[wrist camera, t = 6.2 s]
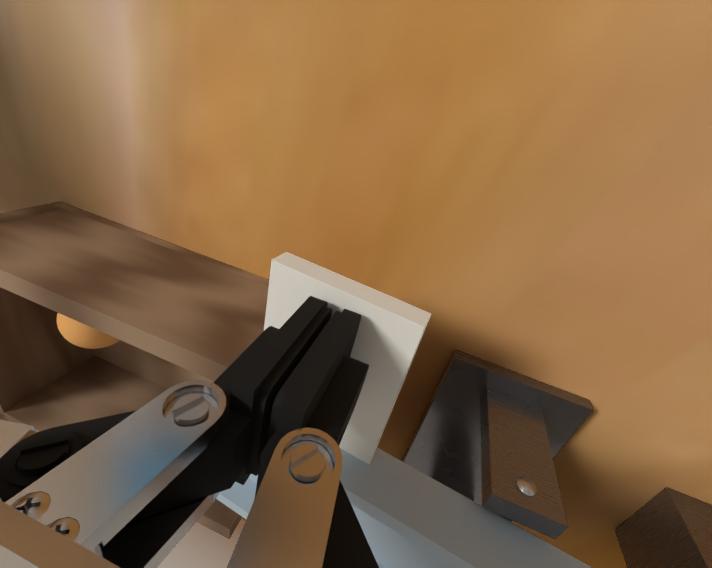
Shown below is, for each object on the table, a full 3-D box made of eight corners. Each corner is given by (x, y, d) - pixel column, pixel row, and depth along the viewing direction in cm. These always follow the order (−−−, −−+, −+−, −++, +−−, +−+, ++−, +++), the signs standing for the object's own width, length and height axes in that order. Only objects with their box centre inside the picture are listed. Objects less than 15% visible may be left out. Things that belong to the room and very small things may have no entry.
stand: (768, 467, 14) (932, 663, 9) (620, 573, 19) (673, 739, 14) (455, 349, 16) (446, 455, 11) (395, 473, 21) (370, 585, 16)
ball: (62, 274, 19) (135, 275, 21) (73, 323, 21) (140, 321, 22) (39, 311, 17) (124, 310, 18) (54, 364, 18) (131, 359, 20)
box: (312, 296, 17) (242, 373, 12) (284, 444, 23) (229, 539, 18) (59, 201, 20) (-88, 231, 15) (92, 356, 26) (-5, 416, 20)
